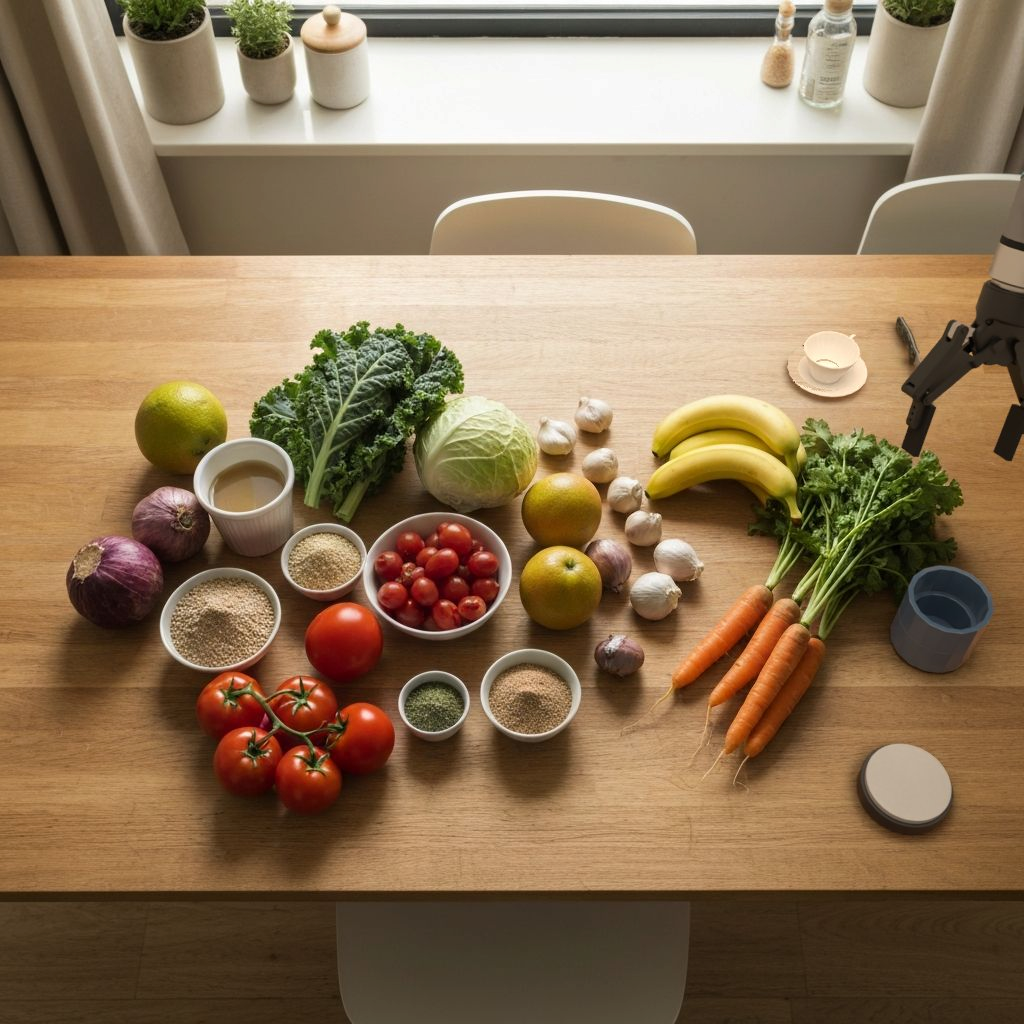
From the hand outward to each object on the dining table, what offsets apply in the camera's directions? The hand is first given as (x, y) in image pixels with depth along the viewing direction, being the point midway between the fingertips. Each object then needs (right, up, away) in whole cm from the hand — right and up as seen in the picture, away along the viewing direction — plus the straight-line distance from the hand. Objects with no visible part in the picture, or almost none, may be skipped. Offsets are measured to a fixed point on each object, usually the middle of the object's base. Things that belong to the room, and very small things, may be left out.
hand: (956, 454), depth 133 cm
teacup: (-7, +14, +32) cm, 35 cm away
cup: (-3, -23, +2) cm, 23 cm away
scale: (-11, -39, -11) cm, 42 cm away
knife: (+7, +15, +32) cm, 36 cm away
